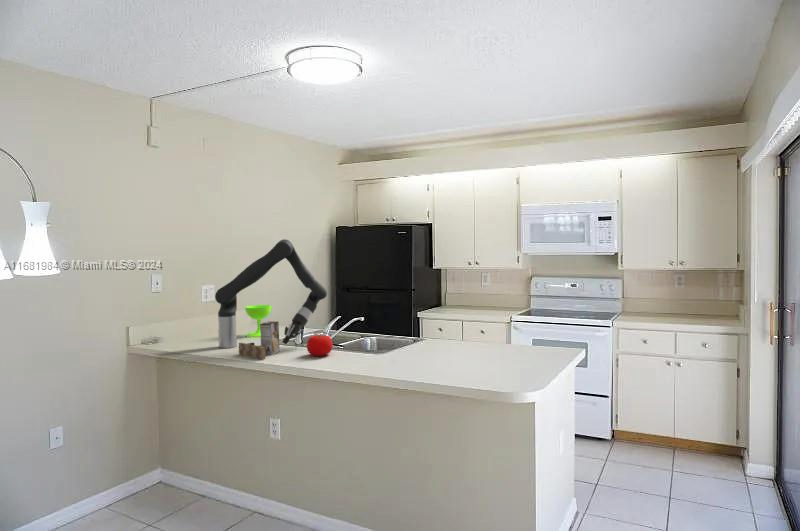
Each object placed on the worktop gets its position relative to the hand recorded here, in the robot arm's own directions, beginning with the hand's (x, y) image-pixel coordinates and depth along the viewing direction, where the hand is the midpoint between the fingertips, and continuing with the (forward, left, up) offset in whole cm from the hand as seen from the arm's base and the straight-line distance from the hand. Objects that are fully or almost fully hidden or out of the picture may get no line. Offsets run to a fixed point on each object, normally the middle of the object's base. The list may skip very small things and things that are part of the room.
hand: (284, 342), depth 300 cm
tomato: (+25, +4, -4) cm, 26 cm away
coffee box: (0, -9, -4) cm, 10 cm away
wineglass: (-56, +21, -4) cm, 60 cm away
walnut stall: (0, -18, -4) cm, 18 cm away
